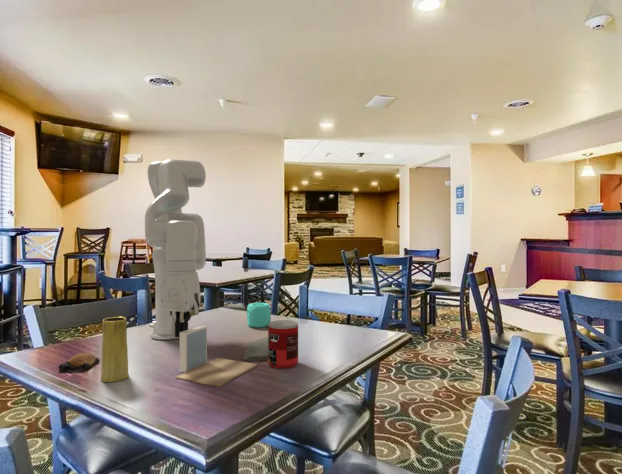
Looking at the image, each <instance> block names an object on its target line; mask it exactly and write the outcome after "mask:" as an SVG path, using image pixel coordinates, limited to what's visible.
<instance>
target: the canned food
mask: <svg viewBox="0 0 622 474" xmlns="http://www.w3.org/2000/svg"><path fill="white" fill-rule="evenodd" d="M267 332H268V333H267V335H268V336H267V337H268V360H267V361H268V364H269V366H270V367H271V368H274V369H291V368H295V367H296V366H298V363H299V323H298V322H297V321H295V320H290V319H289V320H288V319H287V320H286V319H282V320H279V319H278V320H273V321H270V323H268V326H267Z"/></svg>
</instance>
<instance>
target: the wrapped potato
mask: <svg viewBox="0 0 622 474" xmlns="http://www.w3.org/2000/svg"><path fill="white" fill-rule="evenodd" d="M100 361H101V358H99V357H95V356H94V355H93V354H91V353H88V352H83V353H82V352H81V353H78V354H75V355H74V356H72V357H70V358H69V359H68V360H67V361H66V362H64V363H61V364H59V365H58V369H59V370H58V372H57V374H76V373H77V374H79V373H86V372H89V371H90V370H91V369H93V368H94V367H96V365H98V364H99V363H100Z"/></svg>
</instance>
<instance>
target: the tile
mask: <svg viewBox="0 0 622 474" xmlns="http://www.w3.org/2000/svg"><path fill="white" fill-rule="evenodd" d="M207 362H208V326H207V325H198V326H196V327H195V326H194V327H193V328H188V330H185V331H182V332H180V338H179V373H185V372H187V371H189V370H192V369H194V368H196V367H198V366H201V365H203V364H205V363H207Z"/></svg>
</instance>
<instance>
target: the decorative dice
mask: <svg viewBox="0 0 622 474" xmlns="http://www.w3.org/2000/svg"><path fill="white" fill-rule="evenodd" d="M271 319H272V315H271V306H270V304H269V303H267V302H252V303H249V304H248V305H247V307H246V321H247V326H248V327H249V328H257V329H258V328H266V327H268V323H270V322H272V321H271Z"/></svg>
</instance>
